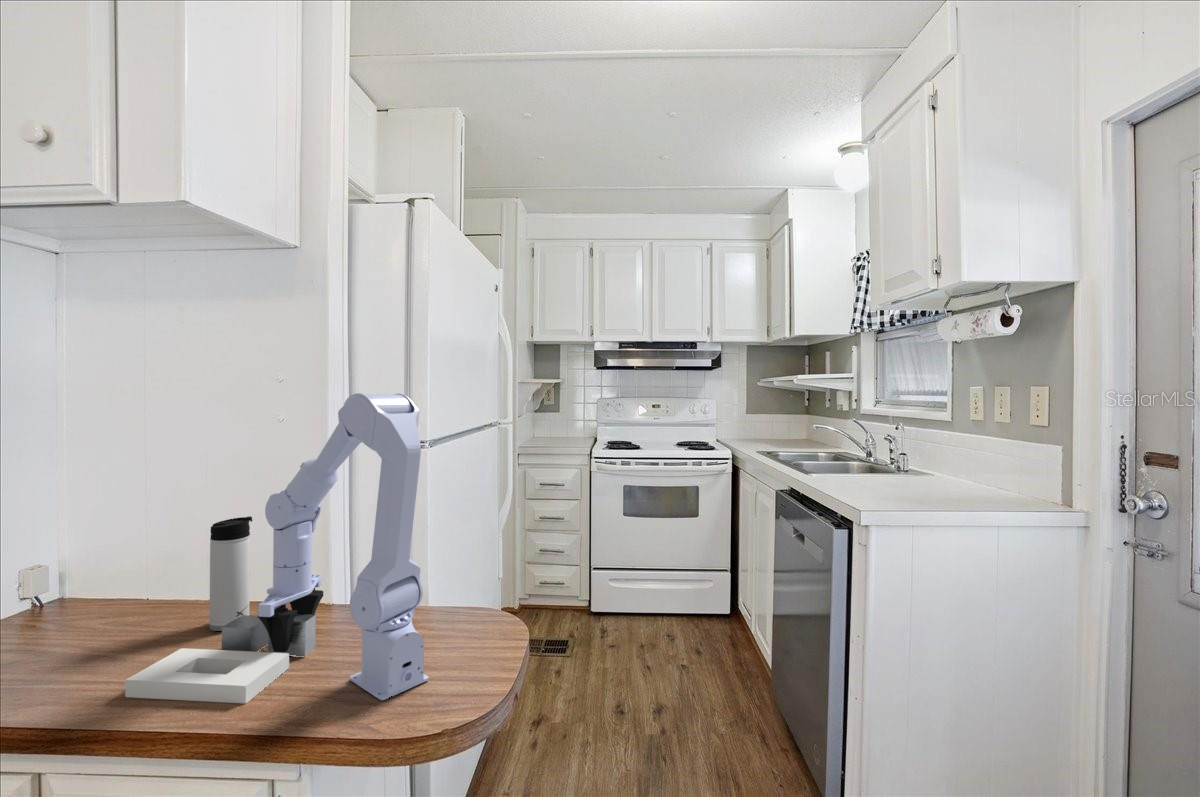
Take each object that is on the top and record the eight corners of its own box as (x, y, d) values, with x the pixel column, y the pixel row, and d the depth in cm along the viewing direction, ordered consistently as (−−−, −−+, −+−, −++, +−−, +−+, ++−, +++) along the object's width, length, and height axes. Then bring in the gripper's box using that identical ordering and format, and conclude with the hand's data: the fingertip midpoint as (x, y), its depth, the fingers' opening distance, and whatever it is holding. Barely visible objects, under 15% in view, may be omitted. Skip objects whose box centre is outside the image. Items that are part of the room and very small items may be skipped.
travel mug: (250, 627, 105) (251, 520, 105) (207, 635, 102) (208, 524, 101) (252, 615, 110) (253, 513, 110) (211, 622, 107) (212, 517, 107)
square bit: (270, 644, 98) (270, 616, 98) (250, 658, 93) (250, 628, 93) (242, 643, 99) (242, 615, 99) (221, 657, 94) (221, 627, 94)
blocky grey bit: (315, 649, 97) (315, 614, 97) (305, 657, 94) (305, 621, 94) (278, 647, 97) (279, 613, 97) (267, 656, 94) (267, 620, 94)
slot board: (289, 669, 90) (289, 653, 90) (245, 703, 80) (245, 686, 80) (181, 663, 91) (181, 648, 91) (125, 697, 81) (125, 679, 81)
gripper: (295, 549, 103) (294, 624, 103) (239, 575, 88) (239, 662, 89) (333, 551, 102) (332, 625, 103) (283, 577, 88) (282, 664, 88)
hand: (291, 642), depth 96 cm, fingers open, 5 cm apart
